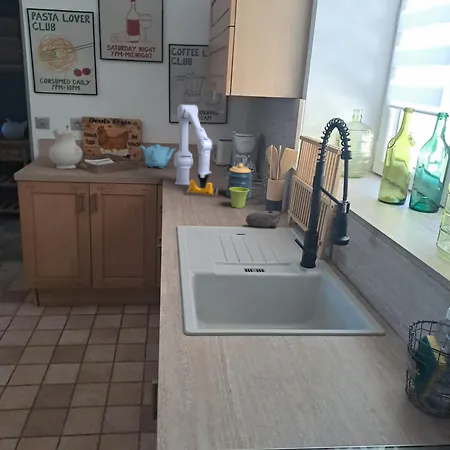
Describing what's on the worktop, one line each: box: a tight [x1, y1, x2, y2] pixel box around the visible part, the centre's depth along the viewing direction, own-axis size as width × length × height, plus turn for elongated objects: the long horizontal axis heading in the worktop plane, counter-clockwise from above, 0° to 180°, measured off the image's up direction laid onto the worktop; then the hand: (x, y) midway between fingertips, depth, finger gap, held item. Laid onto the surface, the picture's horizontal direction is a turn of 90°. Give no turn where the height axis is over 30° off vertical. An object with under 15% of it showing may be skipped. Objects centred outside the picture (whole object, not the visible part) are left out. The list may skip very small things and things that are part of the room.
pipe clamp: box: [188, 179, 214, 194], centre depth 245 cm, size 12×4×6 cm, turn 66°
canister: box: [225, 162, 253, 200], centre depth 242 cm, size 13×13×18 cm
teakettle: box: [139, 144, 177, 169], centre depth 304 cm, size 19×19×15 cm
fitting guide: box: [184, 186, 219, 198], centre depth 248 cm, size 16×17×2 cm
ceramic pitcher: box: [48, 124, 83, 170], centre depth 285 cm, size 22×20×25 cm
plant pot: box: [229, 187, 249, 209], centre depth 224 cm, size 9×9×9 cm
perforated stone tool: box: [245, 210, 282, 228], centre depth 197 cm, size 15×5×7 cm, turn 94°
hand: (202, 188), depth 247 cm, fingers closed, pressing on pipe clamp
